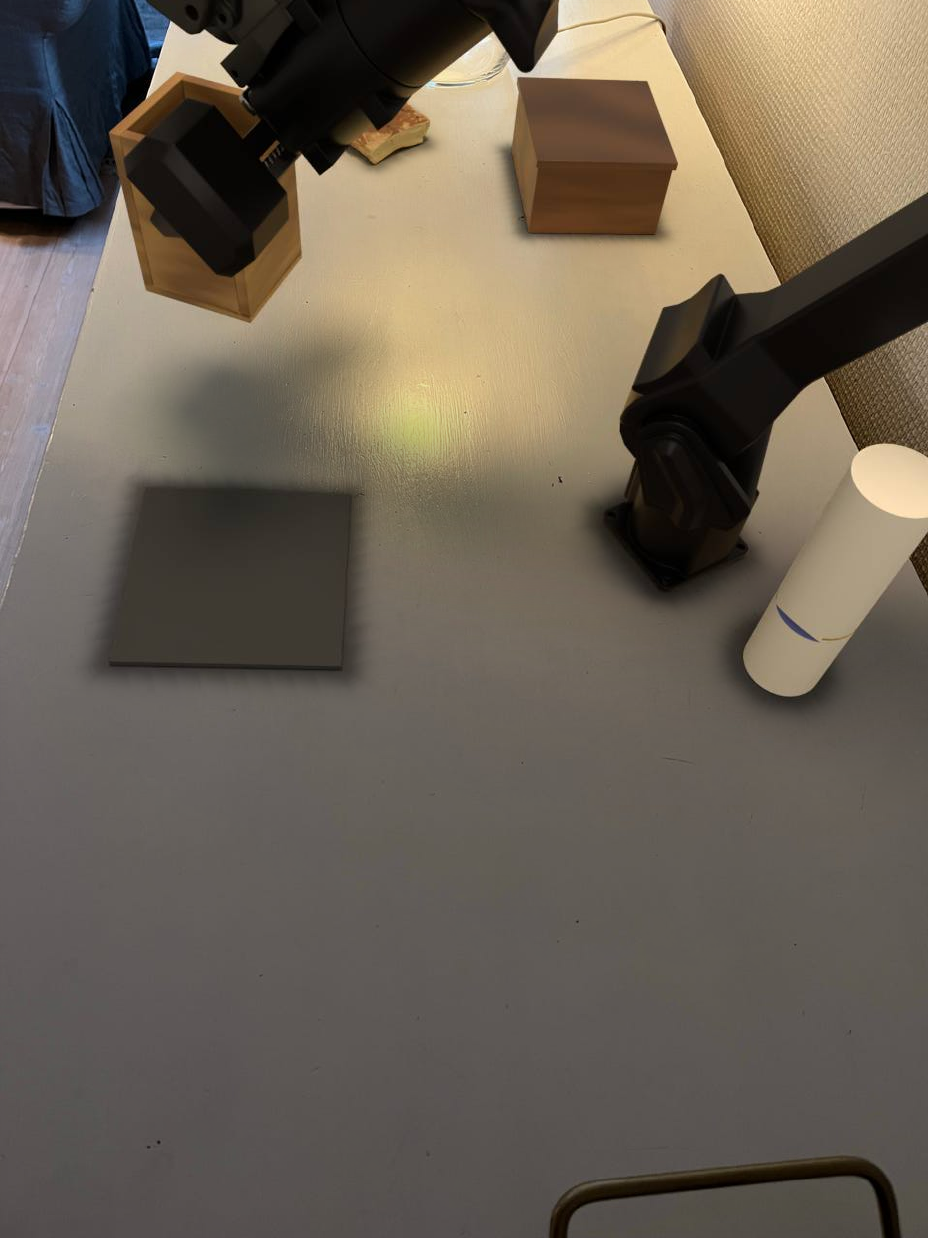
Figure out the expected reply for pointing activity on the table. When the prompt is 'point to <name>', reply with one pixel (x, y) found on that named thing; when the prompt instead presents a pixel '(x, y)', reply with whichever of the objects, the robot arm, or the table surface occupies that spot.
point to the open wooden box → (172, 259)
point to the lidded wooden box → (590, 156)
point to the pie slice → (393, 134)
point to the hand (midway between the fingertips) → (191, 192)
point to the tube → (841, 568)
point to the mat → (236, 580)
